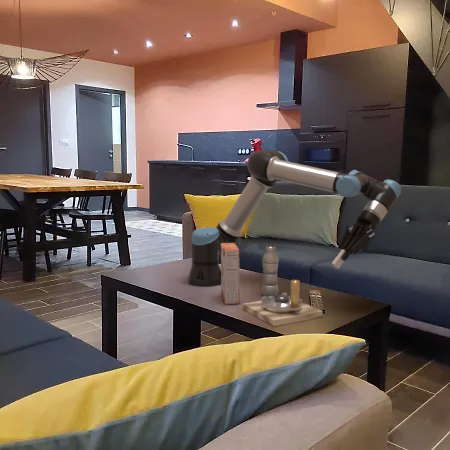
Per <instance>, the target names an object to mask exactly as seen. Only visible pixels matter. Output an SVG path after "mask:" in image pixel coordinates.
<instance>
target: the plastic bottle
mask: <svg viewBox="0 0 450 450" xmlns="http://www.w3.org/2000/svg"><path fill="white" fill-rule="evenodd" d="M276 250H277V249H276V245H271V244H270V245H269V244H268V245H265V253H264V254H263V255H262V257H261V258H262V259H261V263H262V273H263V274H262V284H261V285H262V286H261V293H262V296H274V295H279V290H280V289H279V284H278V267H279V262H280V260H279V257H278V256H279V255H277V253H276Z"/></svg>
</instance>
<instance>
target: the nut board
mask: <svg viewBox="0 0 450 450" xmlns="http://www.w3.org/2000/svg"><path fill="white" fill-rule="evenodd" d="M242 310H243V311H245V312H247V313H249V314H250V315H252V316H254V317H256V318H258V319H260V320H262V321H263V322H265V323H267V324H269V325H271V326H273V327H277V326H283V325H289V324H293V323H298V322H303V321H308V320H313V319H316V318H322V317H323V312H324V311H323V310H321V309H318V308H317V307H314V306H311V305H310V304H307V303H305V302H302V309H301V310H299V311H297V312H292V313H276V312H271V311H267V310H265V309H263V308H262V300H257V301H251V302H247V303H245V302H244V303H242Z"/></svg>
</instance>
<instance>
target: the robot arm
mask: <svg viewBox="0 0 450 450" xmlns="http://www.w3.org/2000/svg"><path fill="white" fill-rule="evenodd" d="M246 166H247V171H248V172H249V174H250V177H251V178H250V179H249V181H248V182H247V183H246V186H245V187H244V189H243V190H242V192H241V193H240V195H239V196H238V198H237V200H236V202H234V204H233V206H232V208H231V210H230V211H229V213H228V214H227V216H226V217H225V219H221V220H220V221H219V222H218V224H217V225H216V227H211V226H210V227H209V226H208V227H207V226H205V227H200V228H197V229H195V230H193V231H192V234H191V267H190V270H189V274H188V278H187V279H188V281H187V283H188V282H189V283H190V285H192V286H196V287H214V286H218V285H221V266H220V263H219V261H220V260H219V259H220V256H221V243H235V244H236V246H237V247H239V246H240V244H241V237H242V235H243V231H242V229H243V228H244V227H245V224H246V223H247V221H248V220H249V219H250V217H251V215H252V213H253V212H254V211H255V209H256V208H257V206H258V205H259V202H261V200H262V199H263V197H264V196H265V194H266V193H267V191H268V190H269V189H270V188H271V189H272V188H274V187H275V185H276V183H277V182H278V181H282V182H285V183H286V182H287V183H291V184H295V185H300V186H304V187H308V188H312V189H317V190H321V191H326V192H329V193H334V194H337V195H340V196H341V197H344V198H353V197H356V196H362V197H364V198H365V199H368V200H369V201H368V202H367V204H366V205H365V207H364V208H363V210H362V211H361V212H360V213H359V215H358V216H357V218H356V222H355V223H353V225H352V226H348V225H347V226H346V227H345V231H344V233H343V235H342V237H341V240H340V241H339V243H338V248H339V249H340V250H339V252H338V253H337V254H336V256H335V258H334V259H333V260H332V263H331V264H332V266H333V267H335V269H337V270H338V269H340V268H341V266H342V265H343V263H344V262H346V261H347V260H348V258H349V257H350V255H352V254H353V255H356V254H358V252H360V251H361V250H362V248H363V247H365V246H366V245H367V244H368V242H369V241H370V240H372V239H373V238H375V237H376V233H375V232H374V231H375V230H376V229H377V227H378V226H379V225H380V223H381V222H382V221H383V219H384V218H385V216H386V215H387V214H388V212H389V211H390V210H391V208H392V207H393V206H394V204H395V203H396V202H397V200H398V197H400V195H401V193H402V186H401V185H400V184H399V182H397V181H395V180H392V179H385V180H384V181H378V180H377V179H375V178H373V177H371V176H369V175H367V174H364V173H363V172H362V171H358V170H356V169H353V170H351V171H349V173H348V174H347V173H344V172H338V171H333V170H330V169H329V170H328V169H324V168H320V167H315V166H311V165H305V164H301V163H298V162H297V163H295V162H292V161H289V160H288V156H286V155H285V154H284V153H283V152H282V151H278V150H275V149H273V150H269V149H268V150H265V149H264V150H263V149H262V150H261V149H259V150H256V151H254V152H253V153H251V154H250V156H249V157H248V159H247V163H246Z"/></svg>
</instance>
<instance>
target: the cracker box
mask: <svg viewBox="0 0 450 450" xmlns="http://www.w3.org/2000/svg"><path fill="white" fill-rule="evenodd" d="M238 247H239V246H238ZM238 247H237V246H236V244H235V243H221V255H220V270H221V284H220V285H221V286H220V288H221V290H220V291H221V296H222V300H223V302H224V305H239V304H240V249H239V248H238Z"/></svg>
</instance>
